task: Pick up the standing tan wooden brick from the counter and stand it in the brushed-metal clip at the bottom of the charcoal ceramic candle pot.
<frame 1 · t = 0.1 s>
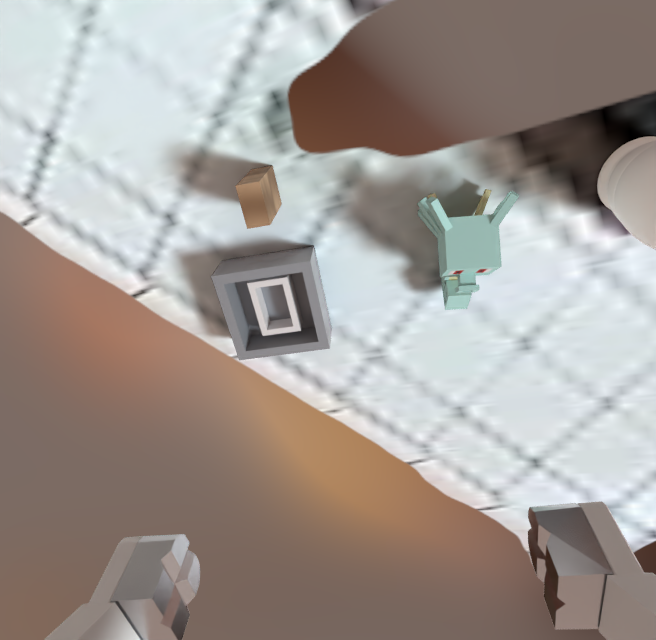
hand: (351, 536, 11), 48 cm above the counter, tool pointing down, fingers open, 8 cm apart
toy: (454, 238, 57), on the counter
jar: (635, 175, 52), on the counter
tan wooden brick: (266, 186, 55), on the counter
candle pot: (278, 295, 62), on the counter
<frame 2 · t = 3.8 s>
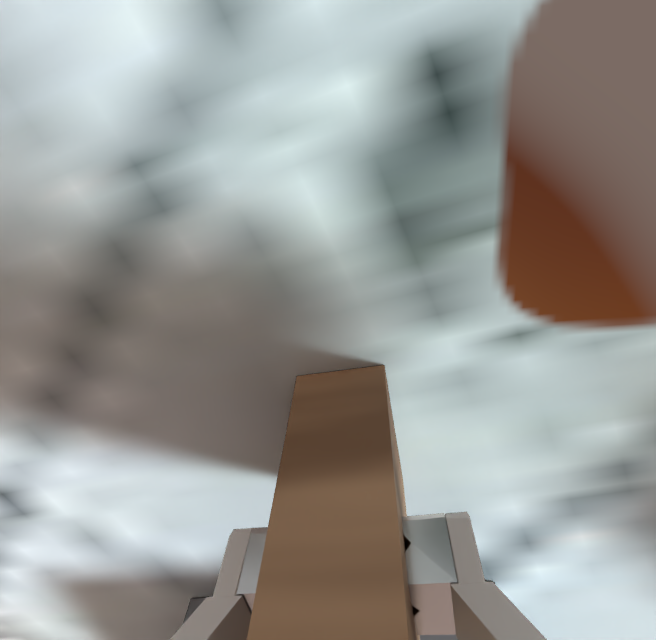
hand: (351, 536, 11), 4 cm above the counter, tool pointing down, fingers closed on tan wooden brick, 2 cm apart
tan wooden brick: (353, 430, 14), on the counter, touching gripper
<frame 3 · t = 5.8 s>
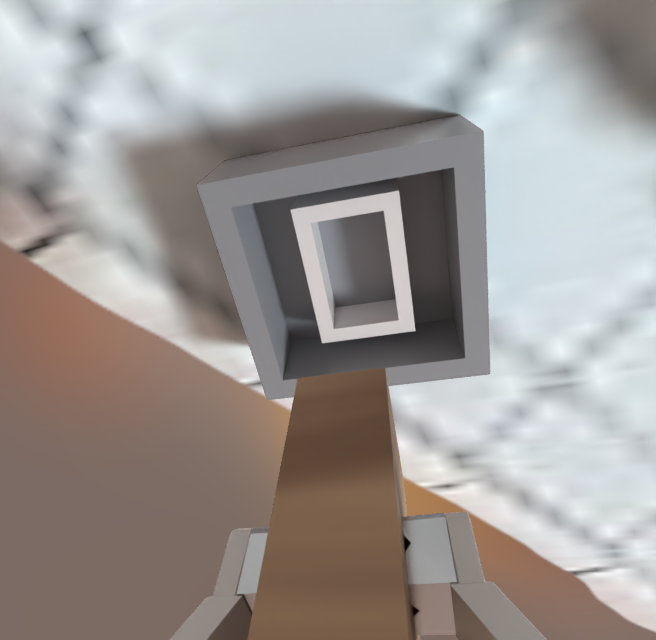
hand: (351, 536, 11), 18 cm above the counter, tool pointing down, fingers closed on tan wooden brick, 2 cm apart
tan wooden brick: (353, 433, 14), point 14 cm above the counter, touching gripper
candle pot: (357, 248, 27), on the counter
when the fingers open (6 cm above the counter, at t = 7.6 s): tan wooden brick drops 2 cm, resting on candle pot.
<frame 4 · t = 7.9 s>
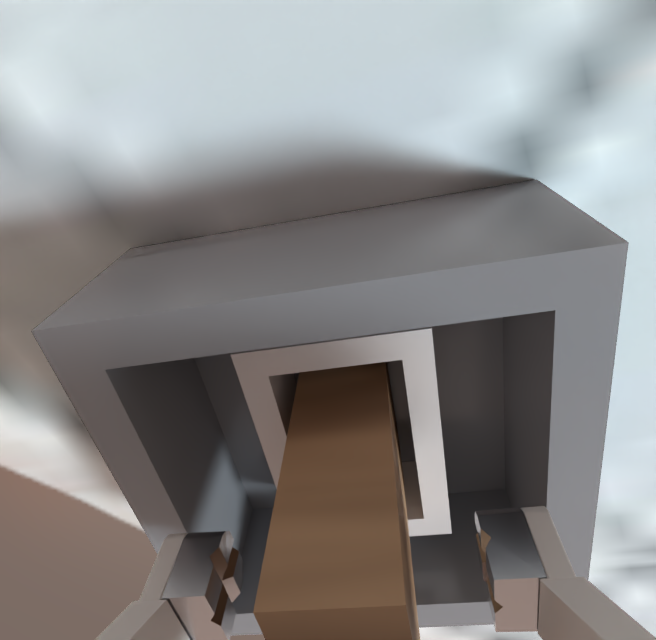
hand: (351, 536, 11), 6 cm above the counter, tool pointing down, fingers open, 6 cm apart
tan wooden brick: (354, 401, 16), point 1 cm above the counter, touching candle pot
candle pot: (354, 382, 16), on the counter
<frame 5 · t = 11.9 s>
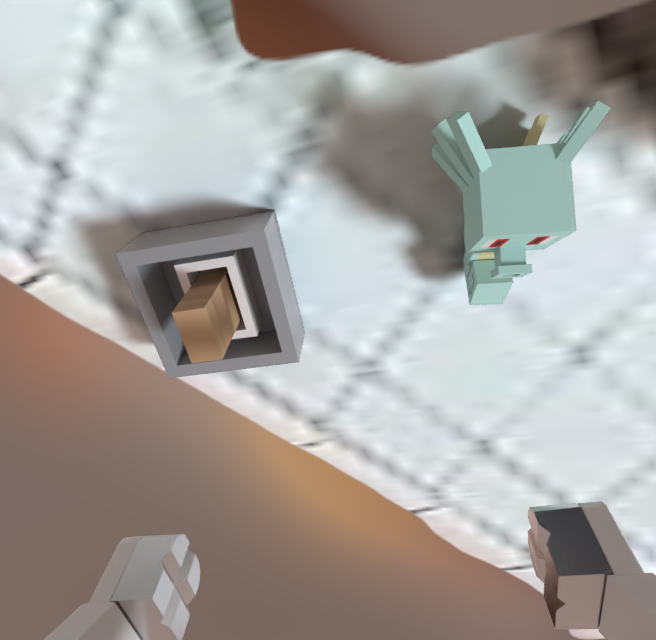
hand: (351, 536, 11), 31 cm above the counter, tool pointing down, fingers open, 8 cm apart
toy: (484, 197, 38), on the counter
tan wooden brick: (224, 290, 42), point 1 cm above the counter, touching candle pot
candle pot: (226, 285, 43), on the counter
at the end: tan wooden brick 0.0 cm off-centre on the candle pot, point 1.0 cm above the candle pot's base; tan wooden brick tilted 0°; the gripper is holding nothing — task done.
